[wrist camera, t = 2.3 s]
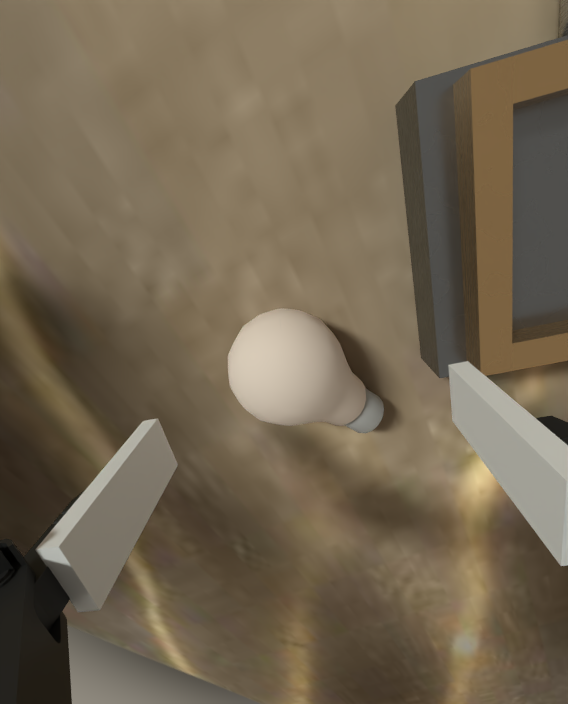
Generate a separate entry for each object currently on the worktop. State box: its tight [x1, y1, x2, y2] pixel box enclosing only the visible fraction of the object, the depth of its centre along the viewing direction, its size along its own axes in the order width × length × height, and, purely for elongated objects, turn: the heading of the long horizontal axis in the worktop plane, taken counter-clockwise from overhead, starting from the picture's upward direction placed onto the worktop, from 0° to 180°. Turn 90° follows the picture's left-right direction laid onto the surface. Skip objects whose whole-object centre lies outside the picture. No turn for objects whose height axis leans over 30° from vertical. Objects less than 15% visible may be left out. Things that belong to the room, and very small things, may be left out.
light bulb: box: [228, 308, 384, 433], centre depth 20 cm, size 7×7×11 cm
